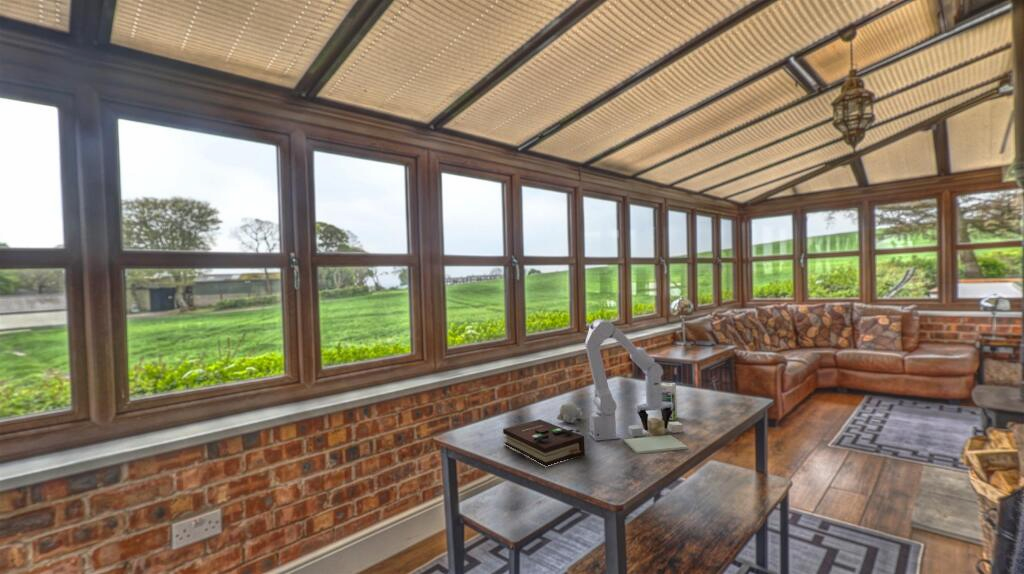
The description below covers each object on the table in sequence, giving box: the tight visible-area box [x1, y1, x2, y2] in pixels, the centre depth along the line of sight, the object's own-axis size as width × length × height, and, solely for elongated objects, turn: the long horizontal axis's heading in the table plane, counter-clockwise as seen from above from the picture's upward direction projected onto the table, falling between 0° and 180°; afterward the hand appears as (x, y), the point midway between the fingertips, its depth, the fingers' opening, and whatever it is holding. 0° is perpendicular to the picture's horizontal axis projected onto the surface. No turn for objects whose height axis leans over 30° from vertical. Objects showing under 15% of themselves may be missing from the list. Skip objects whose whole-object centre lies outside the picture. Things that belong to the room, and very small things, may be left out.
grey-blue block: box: [627, 424, 644, 438], centre depth 170 cm, size 4×4×3 cm
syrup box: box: [660, 381, 678, 421], centre depth 188 cm, size 6×6×14 cm
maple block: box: [646, 417, 666, 436], centre depth 171 cm, size 5×5×5 cm
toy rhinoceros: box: [556, 401, 583, 424], centre depth 190 cm, size 7×12×8 cm, turn 125°
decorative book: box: [502, 419, 586, 466], centre depth 159 cm, size 19×8×30 cm
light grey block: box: [667, 420, 684, 434], centre depth 172 cm, size 4×4×3 cm
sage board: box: [622, 434, 688, 455], centre depth 159 cm, size 18×12×1 cm, turn 97°
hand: (655, 428), depth 171 cm, fingers open, 7 cm apart
